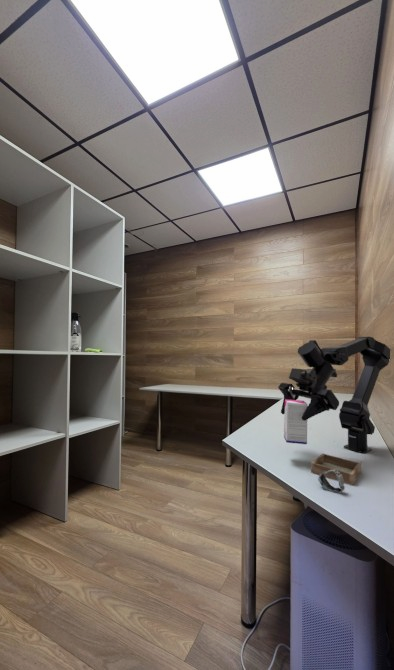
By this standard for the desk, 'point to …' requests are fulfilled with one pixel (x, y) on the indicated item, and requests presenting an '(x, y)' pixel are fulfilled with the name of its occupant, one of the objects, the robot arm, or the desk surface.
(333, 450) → the desk surface
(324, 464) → the square wooden tray
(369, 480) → the desk surface
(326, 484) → the wristwatch
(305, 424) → the supplement box
